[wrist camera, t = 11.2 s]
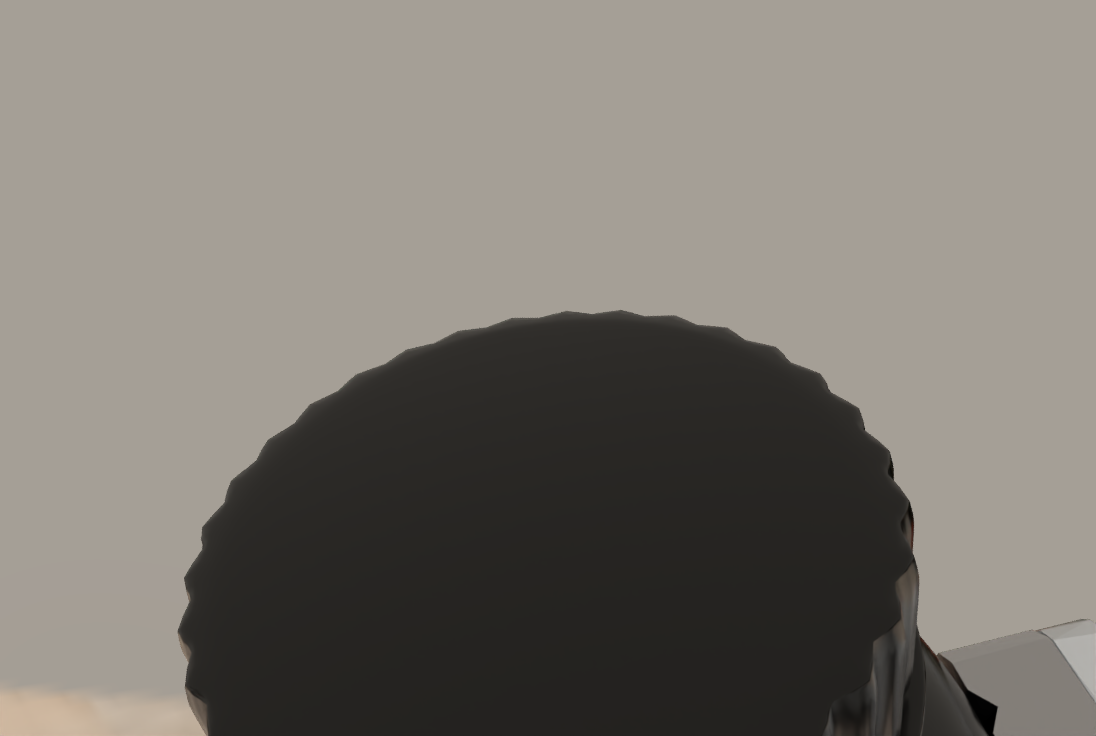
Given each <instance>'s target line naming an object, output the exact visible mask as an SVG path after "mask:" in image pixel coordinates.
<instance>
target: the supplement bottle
mask: <svg viewBox="0 0 1096 736" xmlns="http://www.w3.org/2000/svg"><path fill="white" fill-rule="evenodd" d="M913 536H914V518H913V512H912V508H911V505H910V502H909V500H908V498H907V497H906V496H905V494H904V493H903V491H902V490H901V489H900V487H899V486H898V485H897V484H896V483H895V482H894V468H893V462H892V458H891V455H890V452H889V450H888V449H887V448H886V447H884V446H883V445H882V444H881V443H880V442H879V441H878V440H877V439H875V438H874V437H873V436H871V435H870V434H869V433H867V432H866V431H865V427H864V422H863V419H862V416H861V413H860V410H859V408H857V407H856V406H854V405H852V404H851V403H849V402H847V401H846V400H844V399H842V398H840V397H838V396H836V395H835V394H833V393H831V392H830V390H829V389H828V386H827V383H826V382H825V380H824V379H823V377H822V376H821V374H820V373H817V372H814V371H812V370H810V369H807V368H804V367H801V366H798V365H796V364H793V363H791V362H790V361H789V360H788V359H786V357H785V355H784V354H783V353H782V352H781V351H780V350H779V349H777V348H776V347H774V346H769V345H765V344H760V343H756V342H751V341H746V340H744V339H743V338H741V337H740V336H738V335H737V334H736V333H735V332H733V331H731V330H730V329H728V328H725V327H715V326H704V325H696V324H694V323H691V322H689V321H687V320H685V319H682V318H680V317H677V316H641V315H638V314H634V313H631V312H627V311H623V310H619V311H611V312H603V313H596V314H587V313H579V312H571V311H565V312H561V313H557V314H553V315H549V316H545V317H541V318H511V319H508V320H505V321H503V322H500V323H497V324H495V325H492V326H489V327H487V328H479V329H471V330H462V331H457V332H455V333H453V334H451V335H449V336H448V337H445V338H443V339H442V340H440V341H438V342H436V343H434V344H429V345H425V346H420V347H416V348H412V349H408V350H405V351H404V352H402V353H401V354H399V355H398V356H396V357H395V358H393V359H392V360H390V361H389V362H388V363H386V364H384V365H382V366H379V367H376V368H373V369H370V370H367V371H365V372H362V373H359V374H357V375H355V376H354V377H353V378H352V379H351V380H349V381H348V382H347V383H346V384H345V385H344V386H343V387H342V388H341V389H340V390H339V391H337V392H335V393H333V394H331V395H329V396H327V397H325V398H322V399H321V400H318V401H316V402H314V403H312V404H310V405H309V406H308V408H307V409H306V410H305V411H304V412H303V413H302V415H301V416H300V417H299V418H298V420H297V421H296V422H295V424H293V425H291V426H290V427H288V428H287V429H285V430H283V431H281V432H280V433H278V434H277V435H275V436H273V437H272V438H270V439H269V440H268V441H267V442H266V444H265V446H264V447H263V449H262V450H261V453H260V454H259V456H258V458H257V460H256V461H255V462H254V463H253V464H252V465H250V466H249V467H248V468H247V469H246V470H244V471H242V472H241V473H240V474H239V475H238V476H237V477H235V478H234V479H233V480H232V481H231V483H230V485H229V488H228V491H227V494H226V498H225V503H224V504H223V505H222V506H221V507H220V508H219V509H218V510H217V511H216V512H215V513H214V514H213V515H212V517H211V518H210V519H209V520H208V521H207V523H206V524H205V525H204V526H203V527H202V537H201V540H202V544H203V548H202V551H201V552H200V554H199V555H198V557H197V558H196V560H195V561H194V562H193V564H192V565H191V567H190V569H189V571H188V572H187V574H186V576H185V577H184V580H185V585H186V590H187V595H188V599H189V604H188V607H187V609H186V611H185V613H184V615H183V618H182V621H181V623H180V626H179V629H178V636H179V641H180V645H181V648H182V651H183V653H184V655H185V657H186V659H187V661H188V662H189V664H188V668H187V674H186V683H185V689H186V694H187V699H188V702H189V705H190V707H191V709H192V711H193V713H194V715H195V717H196V719H197V720H198V722H199V724H200V725H201V727H202V729H203V730H204V732H205V734H206V735H207V736H989V735H988V734H987V732H986V730H985V728H984V726H983V725H982V723H981V721H980V719H979V717H978V716H977V714H976V712H975V710H974V708H973V706H972V705H971V703H970V701H969V700H968V698H967V697H966V695H965V694H964V692H963V691H962V689H961V688H960V686H959V685H958V684H957V682H956V681H955V679H954V678H953V676H952V675H951V673H950V672H949V670H948V669H947V668H946V667H945V665H944V664H943V663H942V662H941V661H940V659H939V658H938V657H937V656H936V655H935V654H934V653H933V651H932V650H931V649H930V647H929V646H928V645H927V644H926V643H925V642H924V640H923V639H922V638H921V637H920V635H919V631H918V628H917V611H918V595H919V574H918V569H917V565H916V561H915V558H914V555H913Z"/></svg>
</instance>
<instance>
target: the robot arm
mask: <svg viewBox="0 0 1096 736" xmlns="http://www.w3.org/2000/svg"><path fill="white" fill-rule="evenodd" d="M937 657H938V658H939V659H940V661H941V662H942V663H943V664H944V665H945V667H946V668H947V669H948V670H949V672H950V673H951V675H952V676H953V678H954V679H955V681H956V682H957V684H958V685H959V686H960V688H961V689H962V691H963V692H964V694H965V695H966V697H967V698H968V700H969V701H970V703H971V705H972V706H973V708H974V710H975V712H976V714H977V716H978V717H979V719H980V721H981V723H982V725H983V726H984V728H985V730H986V732H987V734H988V735H989V736H1096V623H1095V622H1093V621H1092V620H1090V619H1081V620H1076V621H1072V622H1068V623H1064V624H1060V625H1056V626H1052V627H1048V628H1044V629H1040V630H1036V631H1034V630H1029V631H1025V632H1021V633H1018V634H1014V635H1009V636H1005V637H1001V638H997V639H993V640H989V641H985V642H981V643H977V644H973V645H969V646H966V647H961V648H957V649H953V650H949V651H945V652H941V653H938V655H937Z"/></svg>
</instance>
